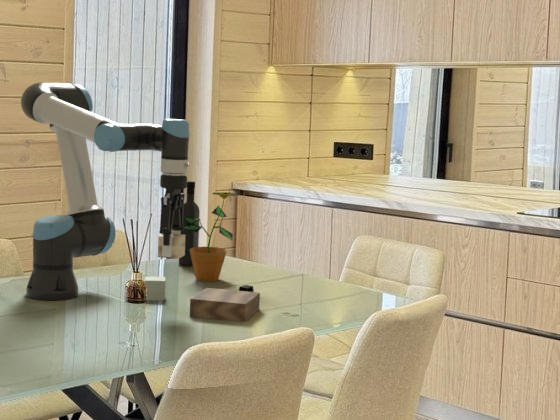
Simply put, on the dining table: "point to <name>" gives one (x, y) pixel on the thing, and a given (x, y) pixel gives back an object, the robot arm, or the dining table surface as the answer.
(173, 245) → the maple cube
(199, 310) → the walnut block
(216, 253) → the potted plant
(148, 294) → the sage cube
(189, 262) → the wine bottle
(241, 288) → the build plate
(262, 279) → the dining table surface
